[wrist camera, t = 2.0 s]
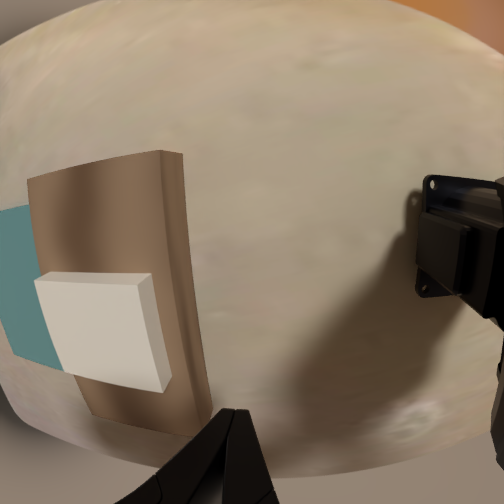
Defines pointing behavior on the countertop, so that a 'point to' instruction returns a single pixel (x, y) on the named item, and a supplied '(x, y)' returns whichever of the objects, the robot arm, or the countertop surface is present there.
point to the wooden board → (130, 271)
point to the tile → (106, 327)
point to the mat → (22, 290)
